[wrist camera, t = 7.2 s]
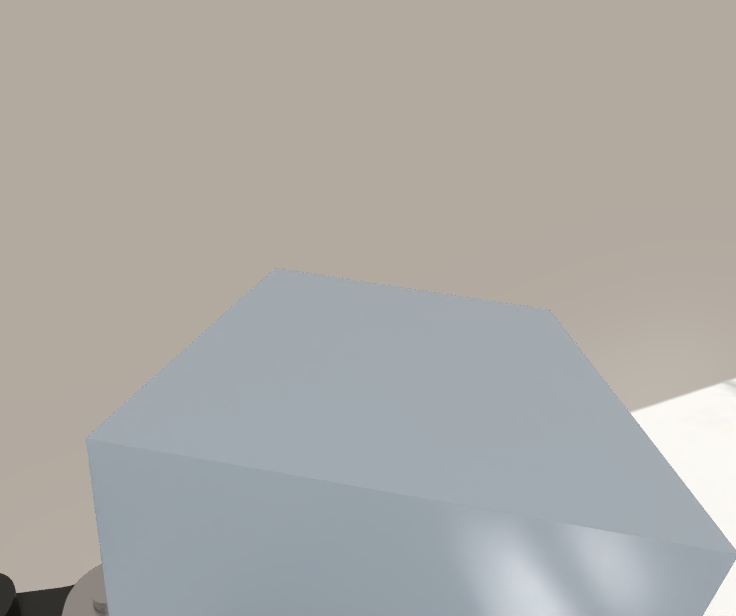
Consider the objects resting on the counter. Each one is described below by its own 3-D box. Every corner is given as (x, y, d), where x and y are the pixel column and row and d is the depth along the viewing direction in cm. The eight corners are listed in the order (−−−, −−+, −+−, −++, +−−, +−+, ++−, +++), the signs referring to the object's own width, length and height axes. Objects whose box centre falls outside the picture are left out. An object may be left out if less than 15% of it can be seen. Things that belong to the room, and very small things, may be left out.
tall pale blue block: (152, 946, 9) (85, 437, 4) (257, 628, 14) (275, 267, 10) (462, 1021, 8) (739, 554, 4) (444, 665, 14) (550, 309, 9)
